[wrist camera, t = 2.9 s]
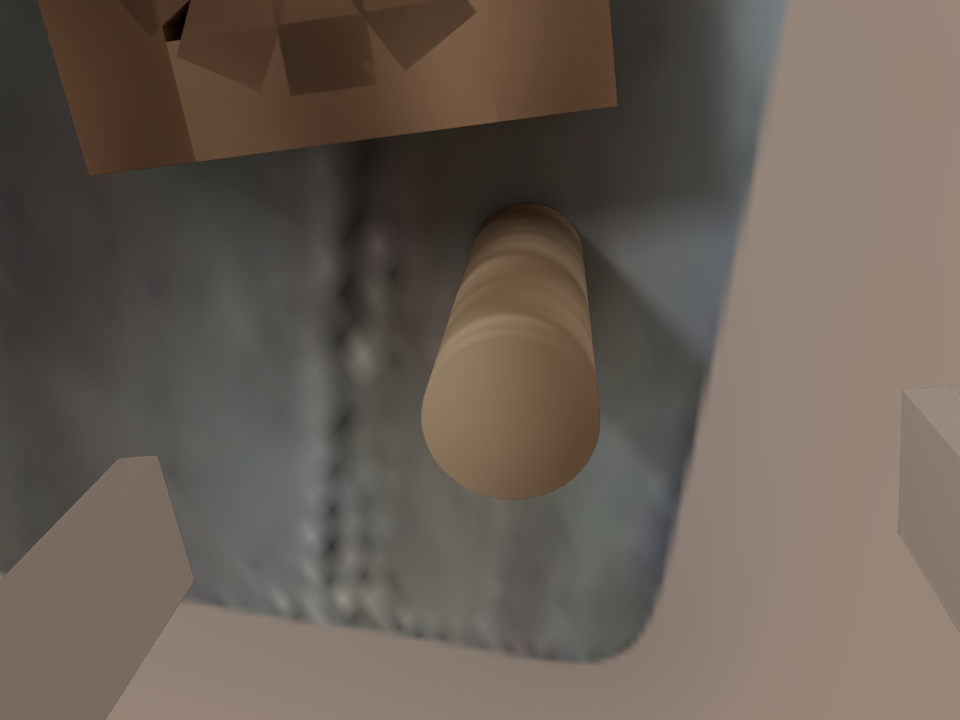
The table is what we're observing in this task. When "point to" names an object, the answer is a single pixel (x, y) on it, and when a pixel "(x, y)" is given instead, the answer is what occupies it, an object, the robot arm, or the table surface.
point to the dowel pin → (516, 361)
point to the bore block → (314, 71)
